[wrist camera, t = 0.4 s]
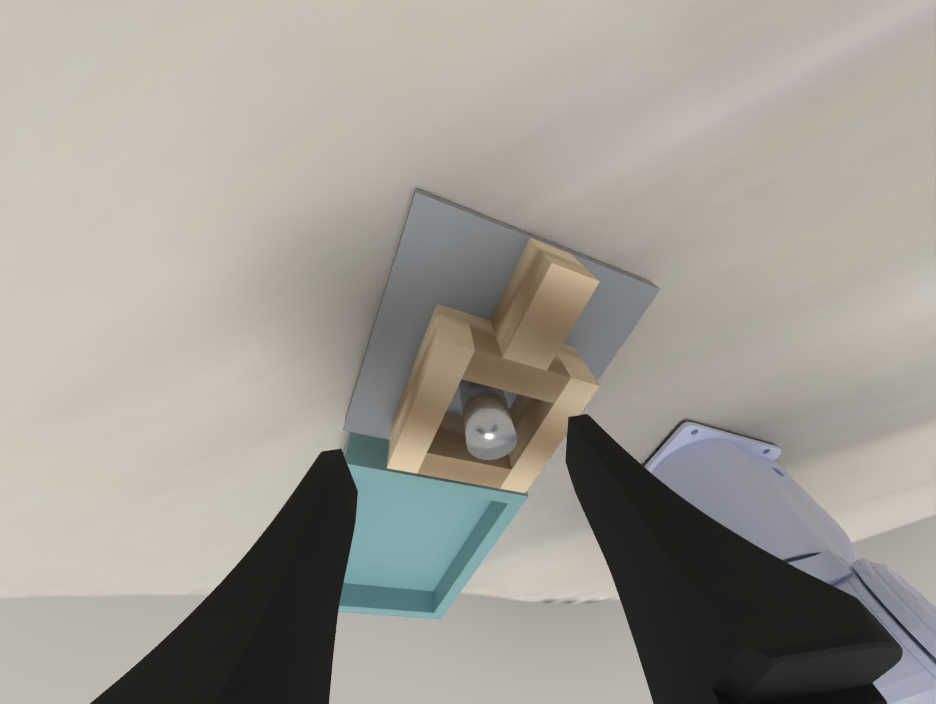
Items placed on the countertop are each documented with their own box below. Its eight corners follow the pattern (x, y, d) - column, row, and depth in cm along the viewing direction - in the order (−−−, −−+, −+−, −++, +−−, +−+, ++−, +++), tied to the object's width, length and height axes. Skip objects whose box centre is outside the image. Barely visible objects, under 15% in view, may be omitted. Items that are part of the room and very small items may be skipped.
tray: (519, 466, 27) (528, 496, 25) (440, 588, 35) (441, 619, 33) (350, 432, 24) (343, 463, 22) (304, 575, 32) (296, 608, 30)
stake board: (532, 458, 27) (554, 529, 22) (345, 418, 23) (327, 493, 19) (650, 281, 20) (716, 330, 16) (415, 188, 17) (413, 216, 12)
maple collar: (512, 447, 24) (525, 493, 22) (391, 421, 22) (386, 468, 19) (620, 273, 19) (657, 303, 16) (470, 214, 16) (481, 236, 14)
